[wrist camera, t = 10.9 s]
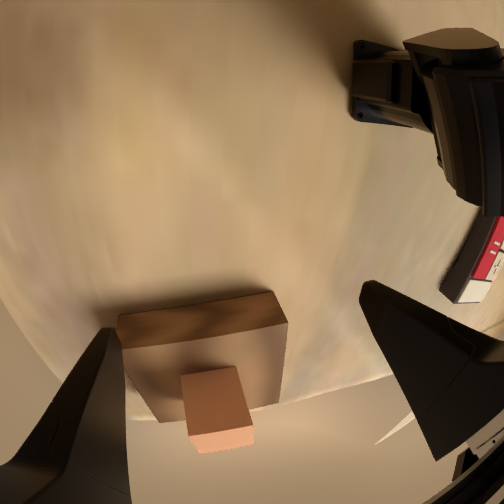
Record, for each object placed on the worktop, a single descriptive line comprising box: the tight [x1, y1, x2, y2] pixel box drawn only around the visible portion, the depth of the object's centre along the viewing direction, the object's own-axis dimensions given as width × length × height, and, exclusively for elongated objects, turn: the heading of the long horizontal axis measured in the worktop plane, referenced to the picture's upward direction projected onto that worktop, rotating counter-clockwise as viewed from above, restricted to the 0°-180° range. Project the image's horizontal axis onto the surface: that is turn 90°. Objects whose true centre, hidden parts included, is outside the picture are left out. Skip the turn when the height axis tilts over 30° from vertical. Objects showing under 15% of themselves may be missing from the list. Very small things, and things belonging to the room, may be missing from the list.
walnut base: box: [116, 291, 288, 423], centre depth 26 cm, size 14×14×4 cm
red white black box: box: [439, 207, 504, 304], centre depth 32 cm, size 11×4×15 cm
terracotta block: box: [180, 366, 254, 454], centre depth 22 cm, size 5×5×6 cm
